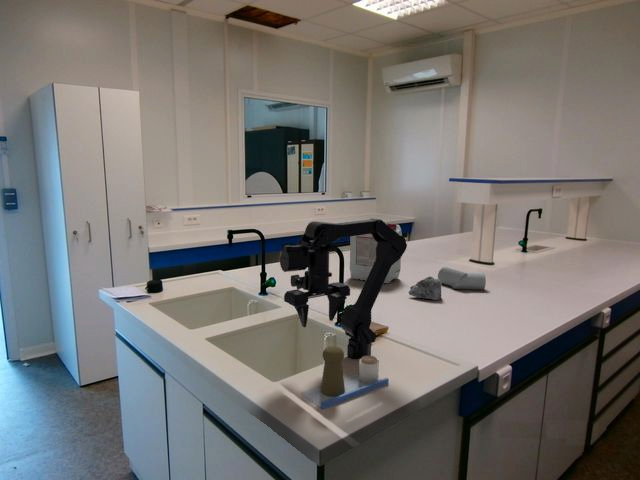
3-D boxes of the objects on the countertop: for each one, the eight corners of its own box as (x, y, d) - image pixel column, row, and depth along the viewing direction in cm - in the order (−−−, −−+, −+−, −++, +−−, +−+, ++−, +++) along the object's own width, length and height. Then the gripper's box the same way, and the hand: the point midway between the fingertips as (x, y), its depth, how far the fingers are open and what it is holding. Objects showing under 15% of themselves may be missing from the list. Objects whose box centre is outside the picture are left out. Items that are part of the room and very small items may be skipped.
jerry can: (402, 278, 230) (404, 222, 226) (388, 285, 215) (390, 225, 210) (362, 272, 243) (363, 219, 239) (345, 279, 227) (347, 222, 223)
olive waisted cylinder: (330, 382, 111) (330, 341, 110) (349, 389, 108) (350, 347, 106) (315, 391, 107) (315, 348, 105) (335, 399, 103) (336, 355, 101)
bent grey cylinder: (442, 288, 205) (486, 290, 204) (443, 266, 206) (486, 267, 204) (436, 287, 223) (476, 289, 221) (436, 267, 224) (476, 268, 222)
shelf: (365, 375, 118) (365, 366, 118) (388, 387, 111) (388, 378, 111) (301, 398, 106) (301, 388, 105) (322, 413, 99) (322, 403, 98)
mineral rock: (407, 297, 194) (408, 275, 193) (419, 293, 202) (420, 271, 201) (433, 303, 186) (434, 280, 184) (445, 298, 193) (446, 276, 192)
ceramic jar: (369, 373, 117) (369, 353, 116) (382, 380, 113) (383, 359, 112) (354, 378, 114) (355, 357, 113) (368, 385, 110) (368, 364, 109)
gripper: (327, 259, 130) (326, 310, 132) (273, 267, 119) (273, 322, 121) (352, 266, 121) (350, 320, 123) (295, 274, 110) (295, 334, 112)
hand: (317, 323), depth 120 cm, fingers open, 9 cm apart
